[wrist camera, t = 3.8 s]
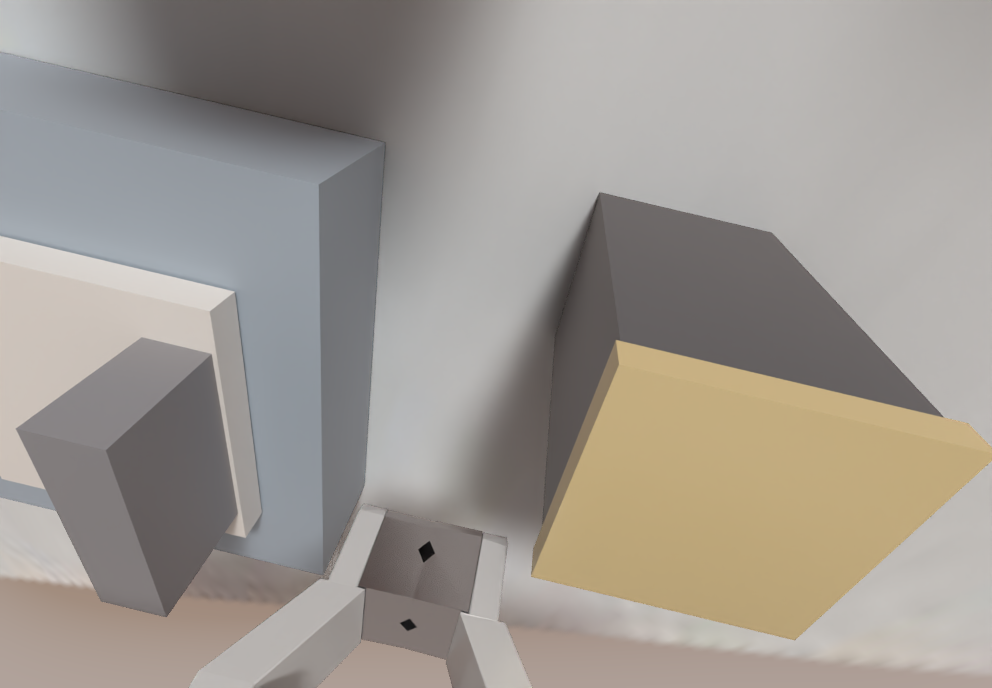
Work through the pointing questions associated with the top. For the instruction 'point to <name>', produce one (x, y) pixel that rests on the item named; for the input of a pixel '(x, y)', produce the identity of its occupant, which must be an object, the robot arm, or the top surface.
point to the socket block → (221, 262)
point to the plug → (728, 429)
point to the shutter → (126, 416)
